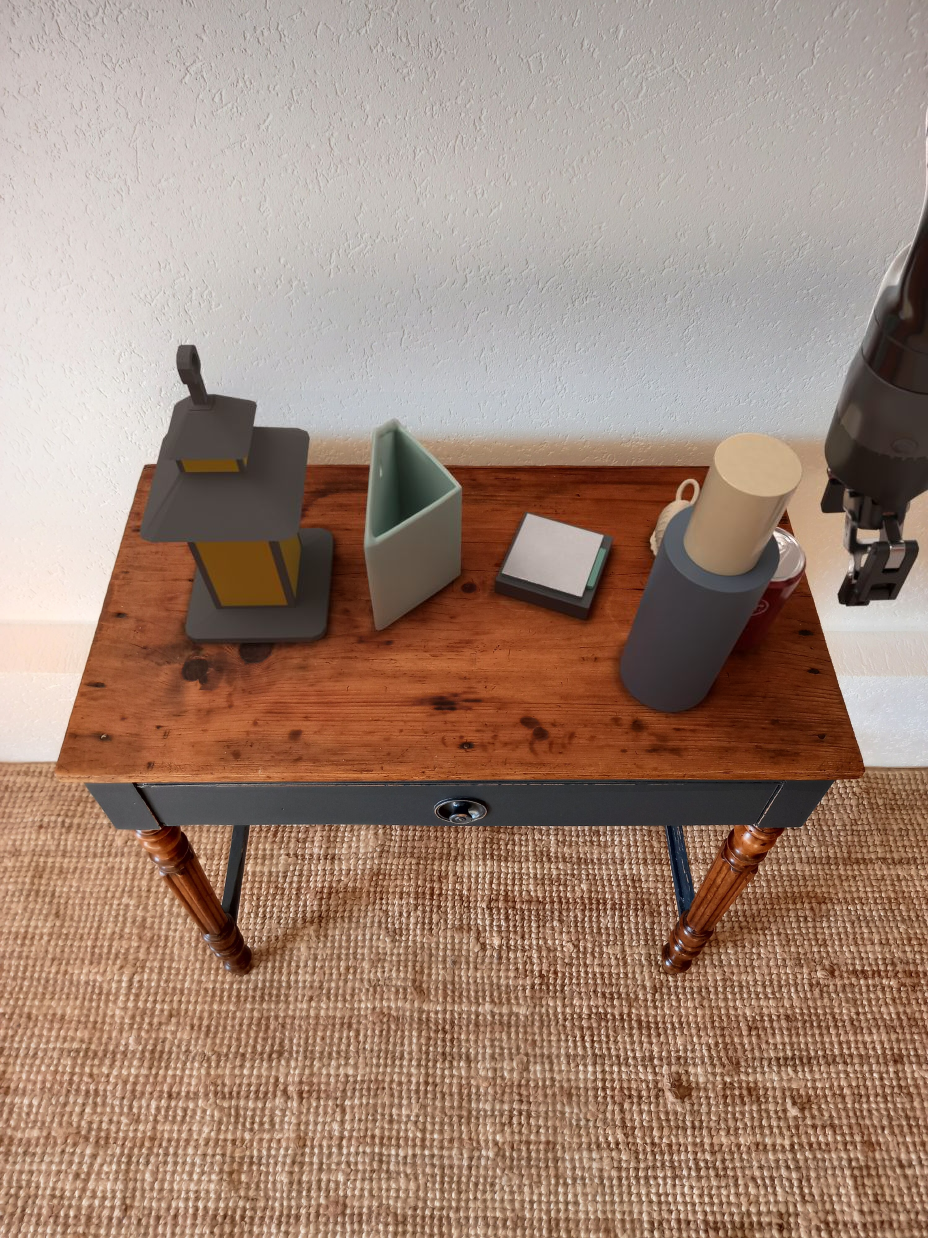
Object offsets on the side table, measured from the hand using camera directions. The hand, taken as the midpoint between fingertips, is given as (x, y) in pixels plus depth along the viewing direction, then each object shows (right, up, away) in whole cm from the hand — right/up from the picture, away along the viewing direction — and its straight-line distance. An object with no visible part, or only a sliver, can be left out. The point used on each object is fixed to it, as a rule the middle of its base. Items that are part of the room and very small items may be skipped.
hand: (842, 553), depth 63 cm
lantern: (-51, -2, +22) cm, 55 cm away
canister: (-10, +1, 0) cm, 9 cm away
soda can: (-2, -6, +20) cm, 21 cm away
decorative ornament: (-6, +4, +26) cm, 27 cm away
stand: (-10, -10, +17) cm, 22 cm away
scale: (-20, 0, +23) cm, 31 cm away
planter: (-34, 0, +23) cm, 41 cm away
